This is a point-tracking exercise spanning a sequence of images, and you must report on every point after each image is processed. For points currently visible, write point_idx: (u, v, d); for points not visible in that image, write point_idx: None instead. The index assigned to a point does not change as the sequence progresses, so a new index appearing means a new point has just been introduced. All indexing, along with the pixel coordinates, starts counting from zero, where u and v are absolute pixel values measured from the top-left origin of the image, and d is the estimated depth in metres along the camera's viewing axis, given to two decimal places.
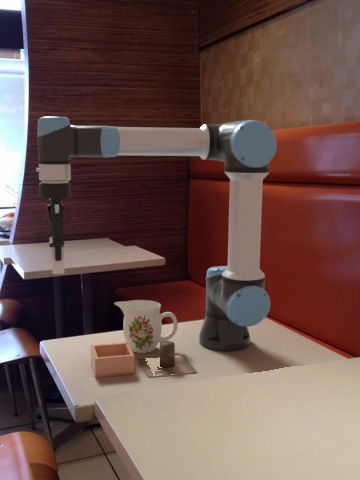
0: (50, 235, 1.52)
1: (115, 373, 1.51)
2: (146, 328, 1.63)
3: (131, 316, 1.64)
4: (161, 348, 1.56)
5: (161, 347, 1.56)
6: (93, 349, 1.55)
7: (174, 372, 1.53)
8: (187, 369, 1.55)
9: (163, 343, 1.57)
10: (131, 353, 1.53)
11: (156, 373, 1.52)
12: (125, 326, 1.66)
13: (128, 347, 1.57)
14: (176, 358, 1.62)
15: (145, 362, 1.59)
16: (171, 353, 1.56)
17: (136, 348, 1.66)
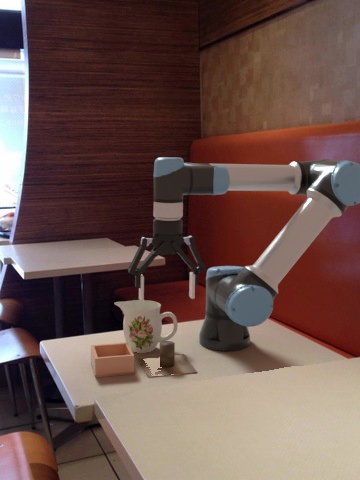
0: None
1: (115, 373, 1.51)
2: (146, 328, 1.63)
3: (131, 316, 1.64)
4: (161, 348, 1.56)
5: (161, 347, 1.56)
6: (93, 349, 1.55)
7: (174, 372, 1.53)
8: (187, 369, 1.55)
9: (163, 343, 1.57)
10: (131, 353, 1.53)
11: (156, 373, 1.52)
12: (125, 326, 1.66)
13: (128, 347, 1.57)
14: (176, 358, 1.62)
15: None
16: (171, 353, 1.56)
17: (136, 348, 1.66)
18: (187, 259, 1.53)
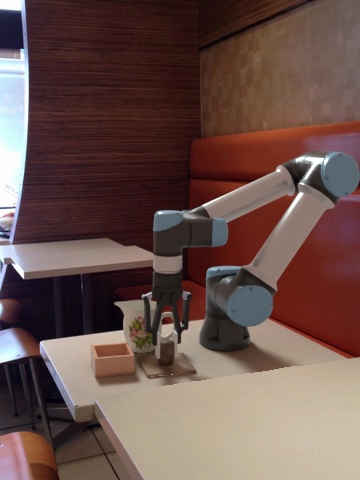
0: (175, 328, 1.58)
1: (115, 373, 1.51)
2: None
3: (131, 316, 1.64)
4: (160, 346, 1.55)
5: (160, 345, 1.55)
6: (93, 349, 1.55)
7: (173, 370, 1.53)
8: (186, 367, 1.55)
9: (162, 341, 1.56)
10: (131, 353, 1.53)
11: (155, 371, 1.52)
12: (125, 326, 1.66)
13: (128, 347, 1.57)
14: None
15: (144, 360, 1.59)
16: (170, 352, 1.55)
17: (136, 348, 1.66)
18: (177, 315, 1.55)
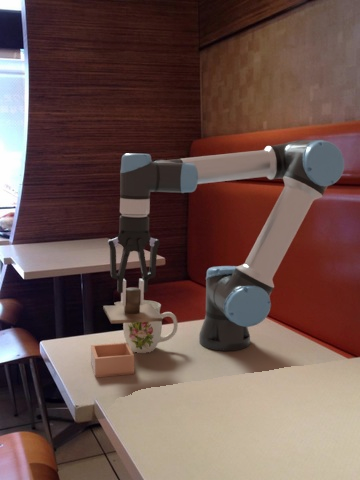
0: (142, 276, 1.54)
1: (115, 373, 1.51)
2: (146, 328, 1.63)
3: None
4: (126, 293, 1.51)
5: (126, 292, 1.51)
6: (93, 349, 1.55)
7: (138, 317, 1.49)
8: (152, 315, 1.51)
9: (128, 289, 1.53)
10: (131, 353, 1.53)
11: (120, 318, 1.48)
12: (125, 326, 1.66)
13: (128, 347, 1.57)
14: (142, 307, 1.58)
15: (110, 309, 1.55)
16: (136, 299, 1.51)
17: (136, 348, 1.66)
18: (143, 262, 1.51)
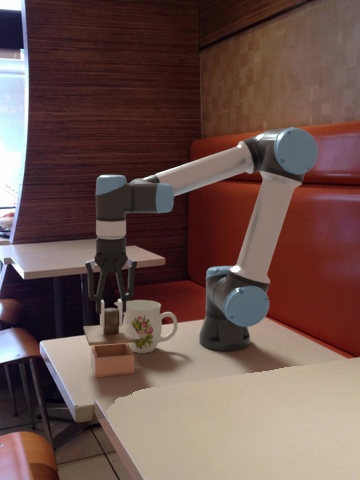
0: None
1: (115, 373, 1.51)
2: (146, 328, 1.63)
3: (131, 316, 1.64)
4: (104, 315, 1.52)
5: (104, 314, 1.52)
6: (93, 349, 1.55)
7: (117, 339, 1.49)
8: (131, 336, 1.51)
9: (107, 310, 1.53)
10: (131, 353, 1.53)
11: (98, 339, 1.48)
12: None
13: (128, 347, 1.57)
14: (122, 326, 1.59)
15: (89, 330, 1.55)
16: (115, 320, 1.52)
17: (136, 348, 1.66)
18: (121, 283, 1.51)
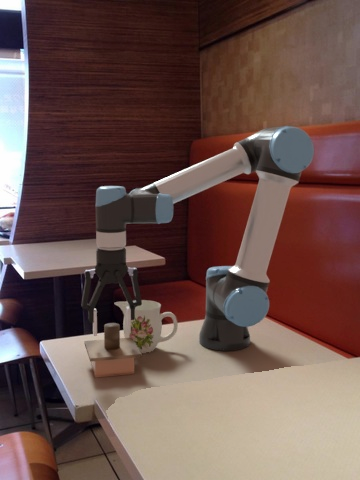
0: (129, 304, 1.55)
1: (115, 373, 1.51)
2: (146, 328, 1.63)
3: None
4: (105, 330, 1.52)
5: (105, 329, 1.52)
6: None
7: (118, 354, 1.50)
8: (132, 351, 1.52)
9: (108, 325, 1.53)
10: None
11: (99, 355, 1.49)
12: (125, 326, 1.66)
13: None
14: (123, 341, 1.59)
15: (90, 345, 1.56)
16: (116, 335, 1.52)
17: None
18: (126, 291, 1.52)
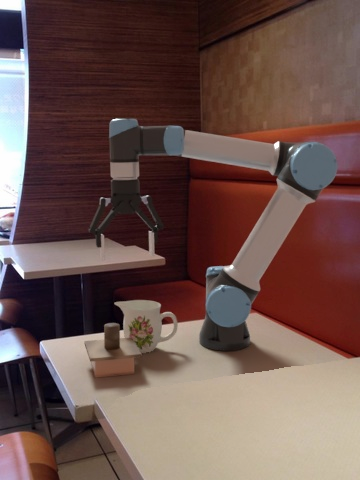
0: (151, 229, 1.62)
1: (115, 373, 1.51)
2: (146, 328, 1.63)
3: (131, 316, 1.64)
4: (105, 330, 1.52)
5: (105, 329, 1.52)
6: None
7: (118, 354, 1.50)
8: (132, 351, 1.52)
9: (108, 325, 1.53)
10: None
11: (99, 355, 1.49)
12: (125, 326, 1.66)
13: None
14: (123, 341, 1.59)
15: (90, 345, 1.56)
16: (116, 335, 1.52)
17: None
18: (145, 218, 1.58)
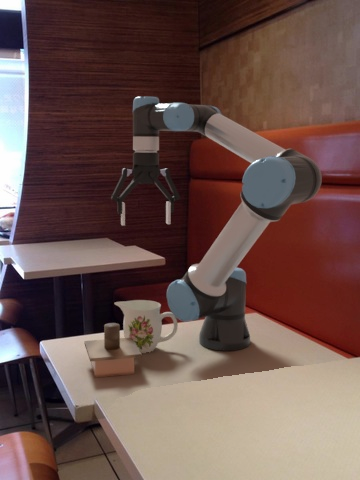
0: None
1: (115, 373, 1.51)
2: (146, 328, 1.63)
3: (131, 316, 1.64)
4: (105, 330, 1.52)
5: (105, 329, 1.52)
6: None
7: (118, 354, 1.50)
8: (132, 351, 1.52)
9: (108, 325, 1.53)
10: None
11: (99, 355, 1.49)
12: (125, 326, 1.66)
13: None
14: (123, 341, 1.59)
15: (90, 345, 1.56)
16: (116, 335, 1.52)
17: None
18: (163, 188, 1.73)
